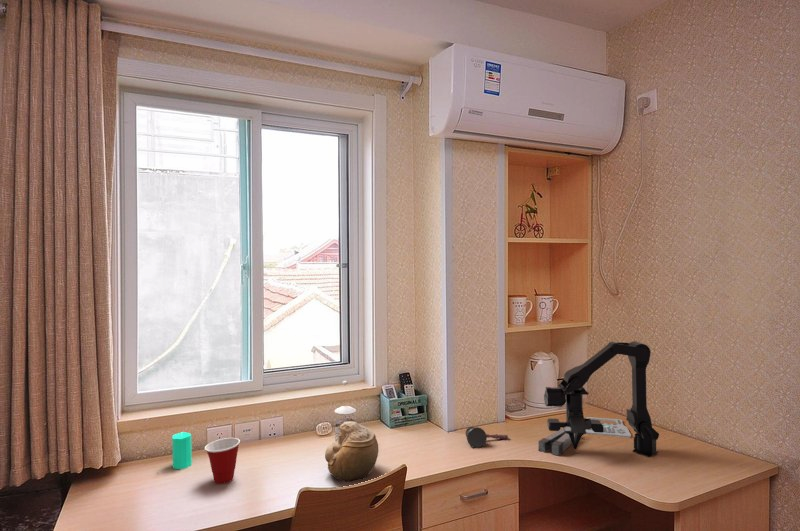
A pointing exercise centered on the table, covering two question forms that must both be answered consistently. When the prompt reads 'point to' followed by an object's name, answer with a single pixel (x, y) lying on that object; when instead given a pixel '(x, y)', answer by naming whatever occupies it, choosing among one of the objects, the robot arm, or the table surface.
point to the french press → (343, 411)
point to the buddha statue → (352, 452)
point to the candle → (182, 450)
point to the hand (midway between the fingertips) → (575, 448)
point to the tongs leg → (561, 444)
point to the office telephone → (611, 428)
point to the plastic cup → (223, 458)
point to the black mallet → (480, 437)
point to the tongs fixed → (550, 440)
